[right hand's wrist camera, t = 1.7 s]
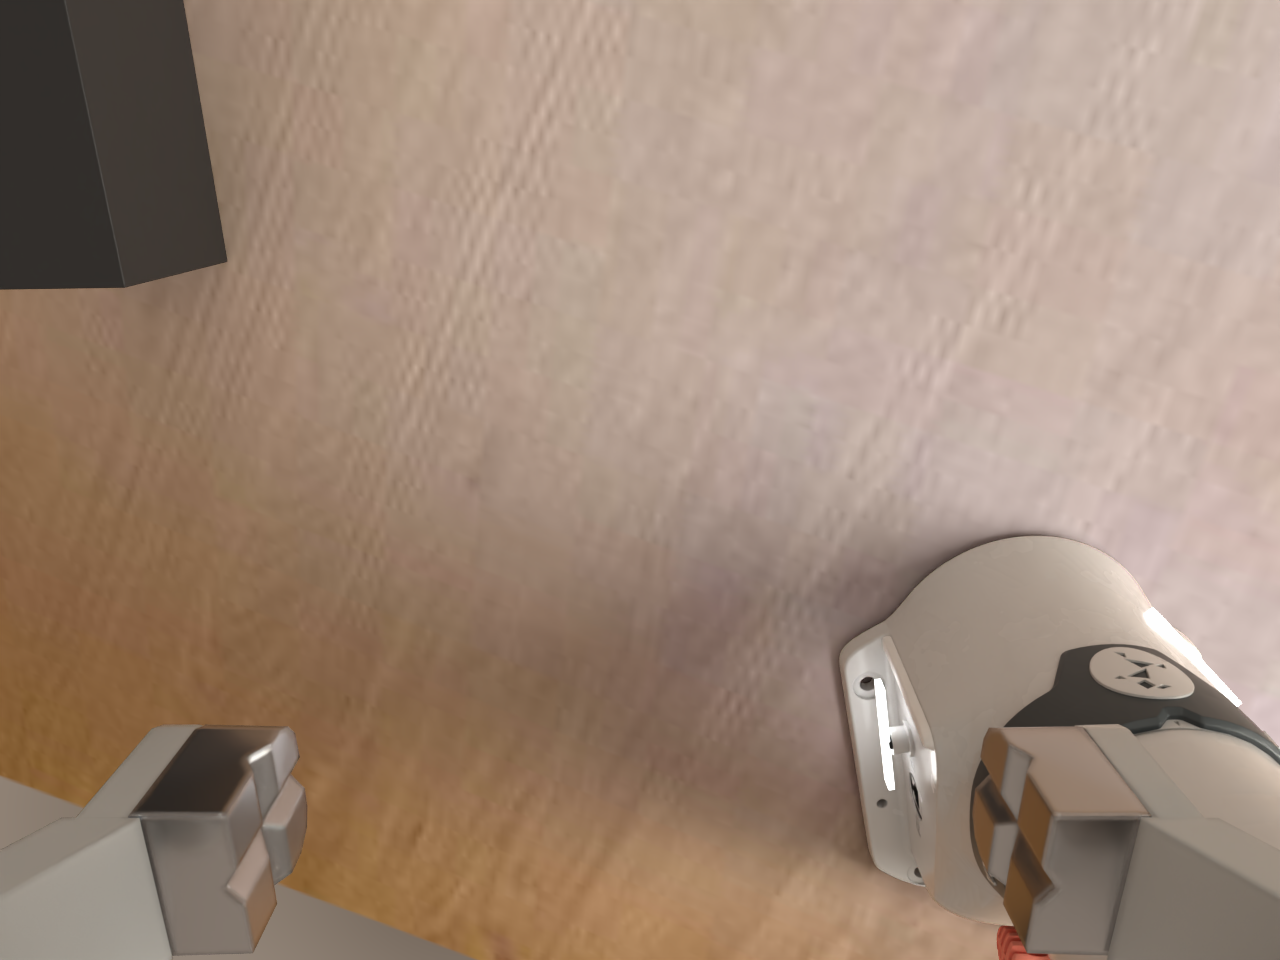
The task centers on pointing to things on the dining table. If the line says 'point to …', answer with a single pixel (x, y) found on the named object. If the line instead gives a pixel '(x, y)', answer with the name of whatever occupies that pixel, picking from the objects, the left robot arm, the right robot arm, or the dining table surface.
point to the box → (101, 146)
